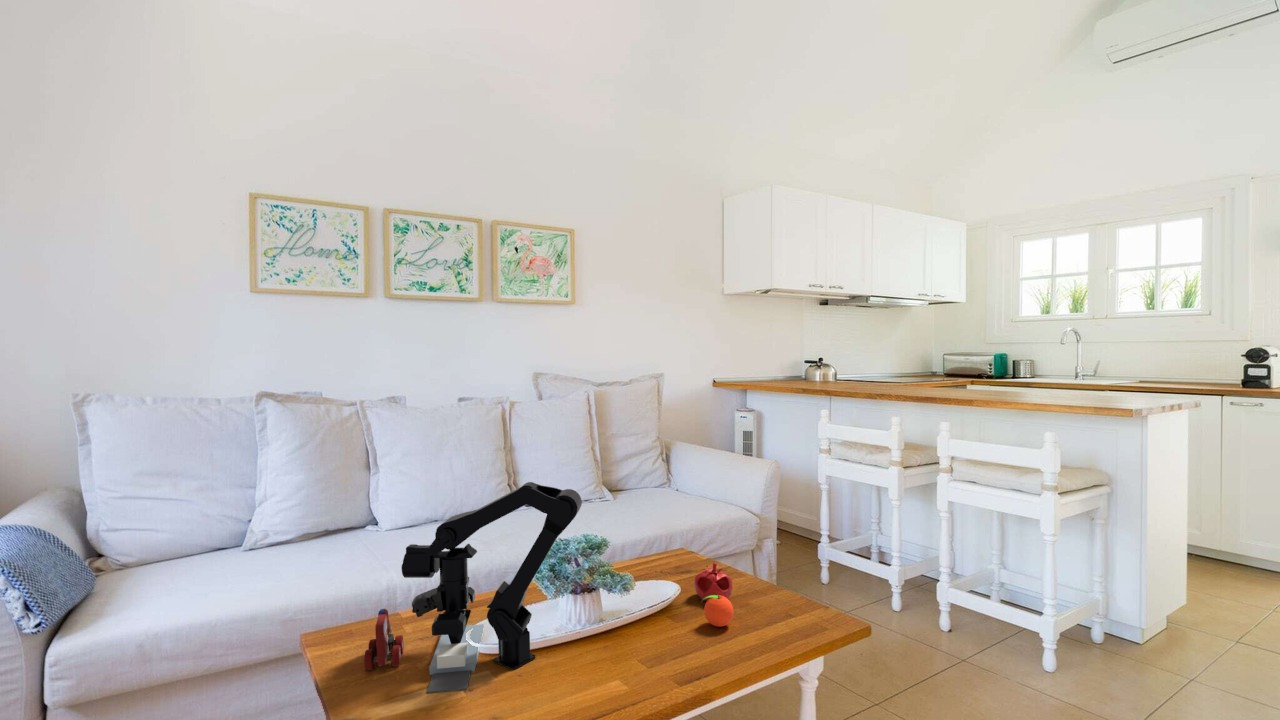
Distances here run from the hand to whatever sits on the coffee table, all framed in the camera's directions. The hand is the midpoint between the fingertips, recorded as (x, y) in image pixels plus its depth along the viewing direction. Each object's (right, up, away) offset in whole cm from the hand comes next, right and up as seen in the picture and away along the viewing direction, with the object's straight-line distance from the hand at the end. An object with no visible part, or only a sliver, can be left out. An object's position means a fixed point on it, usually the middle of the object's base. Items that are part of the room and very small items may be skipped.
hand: (455, 649), depth 136 cm
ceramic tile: (+1, -1, -4) cm, 4 cm away
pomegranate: (+59, -1, +31) cm, 67 cm away
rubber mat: (+1, -2, -9) cm, 10 cm away
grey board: (0, -2, +4) cm, 4 cm away
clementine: (+58, -1, +14) cm, 60 cm away
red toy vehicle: (-15, -3, 0) cm, 16 cm away
